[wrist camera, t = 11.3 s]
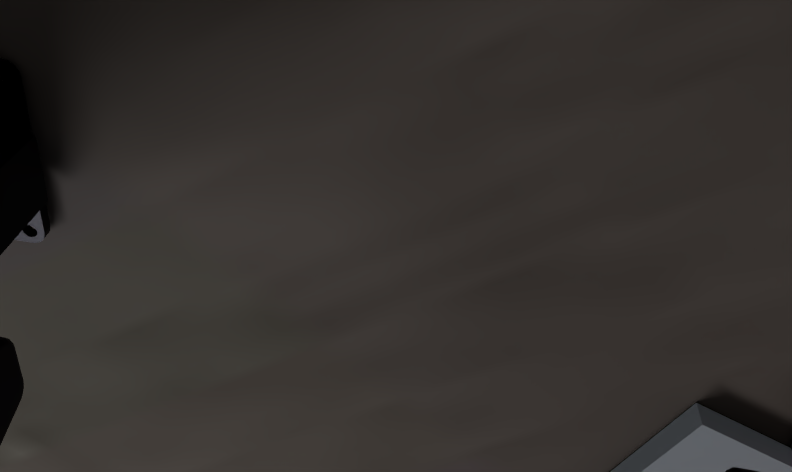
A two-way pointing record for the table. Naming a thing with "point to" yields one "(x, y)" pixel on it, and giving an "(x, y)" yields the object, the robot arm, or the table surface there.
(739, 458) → the bookstand
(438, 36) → the table surface
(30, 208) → the robot arm
